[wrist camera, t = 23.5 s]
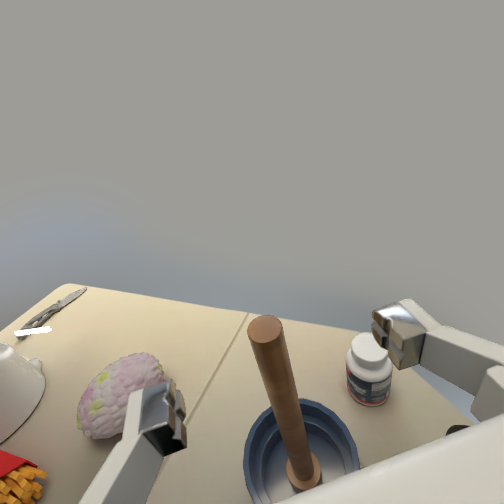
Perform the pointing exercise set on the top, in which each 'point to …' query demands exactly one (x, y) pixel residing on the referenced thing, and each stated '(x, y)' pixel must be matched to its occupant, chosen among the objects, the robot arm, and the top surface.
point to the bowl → (275, 455)
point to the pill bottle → (368, 370)
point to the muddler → (284, 400)
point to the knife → (51, 310)
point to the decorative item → (115, 394)
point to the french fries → (18, 480)
